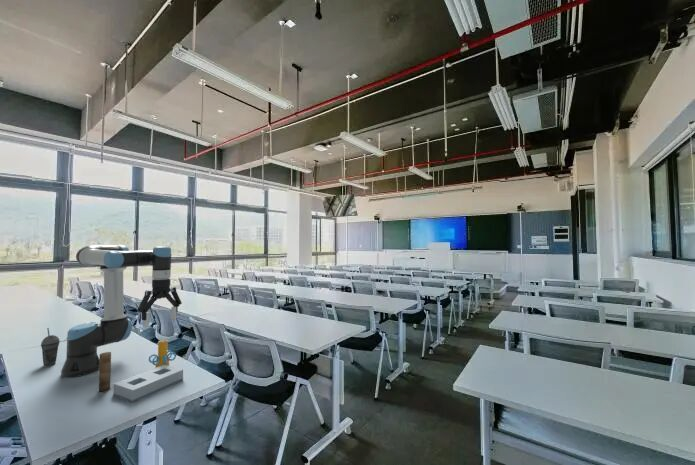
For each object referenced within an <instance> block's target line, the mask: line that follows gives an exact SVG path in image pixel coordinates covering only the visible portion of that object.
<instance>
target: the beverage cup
mask: <svg viewBox="0 0 695 465" xmlns="http://www.w3.org/2000/svg"><path fill="white" fill-rule="evenodd" d="M60 342H61V341H60V338H59V337H58V336H57V335H52V334H50V329H49V327H47V336H46V337H44V338H43V339H42V341H41V343H40V346H41V347H40V348H41V350H42V351H41V352H42V364H43V367H45V366H47V367H51V365H52V366H54V364H55V365H56V362H57V358H58V350H59V346H60Z"/></svg>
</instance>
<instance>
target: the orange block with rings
mask: <svg viewBox="0 0 695 465" xmlns="http://www.w3.org/2000/svg"><path fill="white" fill-rule="evenodd" d="M157 344H158V345H157V347H158V348H157V354H156V353H155V354H151V355H150V356H149V357H148V362H149V363H150V364H152V365H153V366H155V367H154V368H157V367H159V366H162V365H167V366H170V362H172V361H175V359H176V358H177V354H176V352H173V351H172V350H168V339H161V340H158V343H157ZM172 356H173V358H172ZM152 357H153V358H152ZM151 358H152V360H151Z"/></svg>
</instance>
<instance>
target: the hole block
mask: <svg viewBox="0 0 695 465" xmlns="http://www.w3.org/2000/svg"><path fill="white" fill-rule="evenodd" d="M182 381H184V369H181V368H178V367H174V366H171V365H169V366H167V365H162V366H159V367H157V368H155V367H154V368H152V369H149V370H146V371H144V372H141V373H138V374H135V375H133V376H130V377H128V378H125V379H123V380H120V381H117V382H114V383H113V389H112V390H113V391H112V392H113V395H112V396H114V397H117V398H119V399H122V400H124V401H127V402H130V403H132V404H134V403H136V402H138V401H140V400H142V399H145V398H146V397H149V396H151V395H153V394H155V393H158V392H160V391H162V390H164V389H167V388H169V387H171V386H174V385H175V384H178V383H180V382H182Z"/></svg>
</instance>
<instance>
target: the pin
mask: <svg viewBox="0 0 695 465" xmlns="http://www.w3.org/2000/svg"><path fill="white" fill-rule="evenodd" d="M111 366H112V352H111V351H106V352H102V353H100V354H99V369H98V393H106V392H108V391H110V390H111V376H112V375H111V371H112V370H111V369H112V368H111Z"/></svg>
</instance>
